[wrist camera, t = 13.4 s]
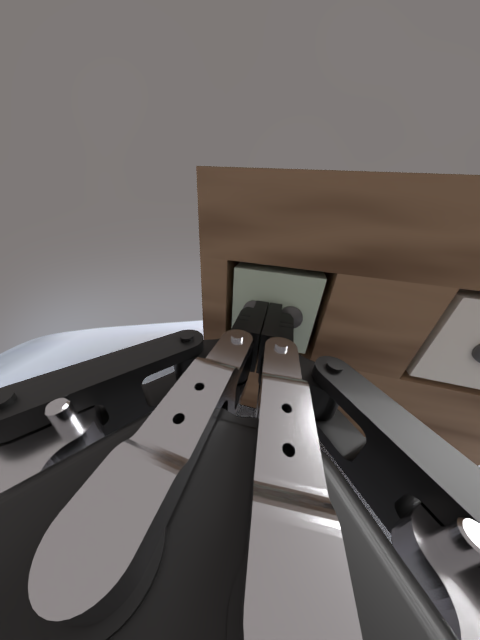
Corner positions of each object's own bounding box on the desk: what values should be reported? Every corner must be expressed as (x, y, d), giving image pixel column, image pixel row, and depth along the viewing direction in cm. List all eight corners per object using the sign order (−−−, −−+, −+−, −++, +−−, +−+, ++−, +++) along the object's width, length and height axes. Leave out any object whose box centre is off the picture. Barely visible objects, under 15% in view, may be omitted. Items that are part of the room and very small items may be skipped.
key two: (305, 356, 12) (327, 281, 10) (229, 341, 13) (232, 268, 11) (302, 315, 17) (317, 257, 15) (247, 306, 18) (252, 250, 16)
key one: (517, 399, 10) (613, 319, 8) (411, 378, 11) (467, 299, 9) (448, 340, 15) (494, 277, 13) (377, 328, 16) (407, 267, 14)
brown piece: (477, 466, 13) (867, 187, 5) (206, 395, 17) (196, 165, 9) (407, 367, 22) (519, 200, 14) (236, 333, 26) (244, 186, 17)
